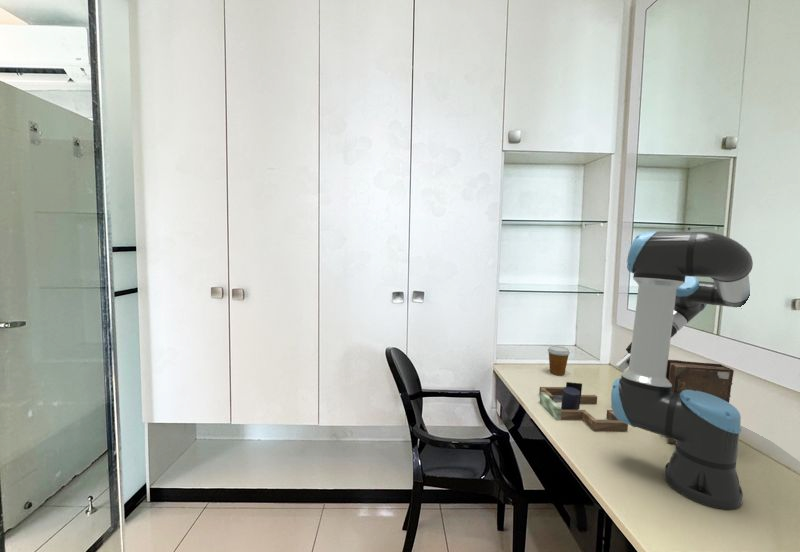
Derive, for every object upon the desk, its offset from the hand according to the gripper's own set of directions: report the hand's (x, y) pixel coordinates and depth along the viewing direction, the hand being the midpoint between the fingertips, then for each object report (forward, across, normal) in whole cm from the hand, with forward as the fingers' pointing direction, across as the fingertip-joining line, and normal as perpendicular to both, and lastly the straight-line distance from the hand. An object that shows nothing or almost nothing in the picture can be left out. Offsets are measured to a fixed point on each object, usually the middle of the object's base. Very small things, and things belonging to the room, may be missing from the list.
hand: (619, 368), depth 133 cm
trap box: (+21, 0, -2) cm, 21 cm away
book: (+4, -21, -19) cm, 29 cm away
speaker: (+24, -1, 0) cm, 24 cm away
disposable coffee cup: (+14, +38, -9) cm, 41 cm away
